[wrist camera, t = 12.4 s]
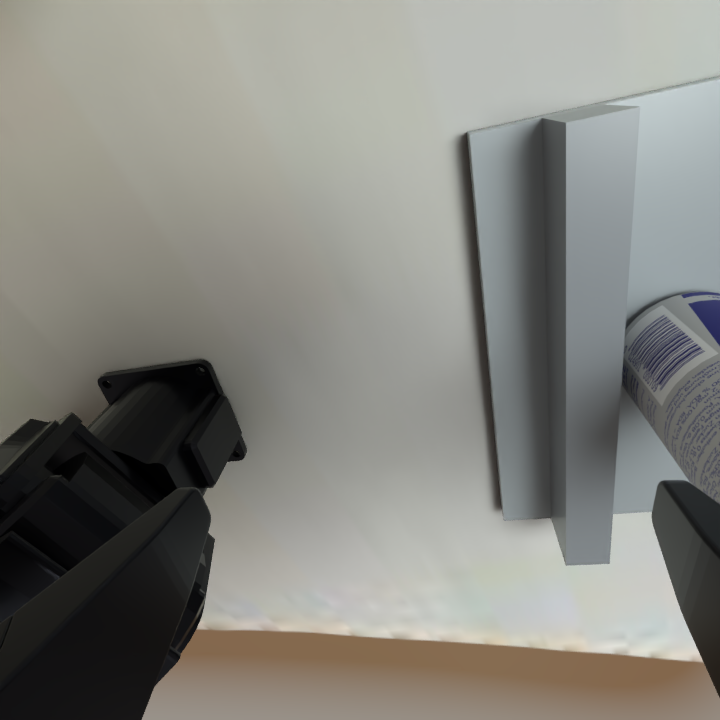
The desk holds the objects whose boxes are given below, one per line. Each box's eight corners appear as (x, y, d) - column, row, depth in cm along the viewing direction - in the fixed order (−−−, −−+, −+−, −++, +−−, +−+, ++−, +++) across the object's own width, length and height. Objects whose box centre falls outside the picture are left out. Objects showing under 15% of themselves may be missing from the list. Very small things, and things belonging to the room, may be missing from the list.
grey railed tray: (501, 506, 27) (513, 567, 24) (466, 131, 18) (479, 141, 14) (822, 485, 24) (891, 552, 20) (989, 16, 14) (1168, -8, 11)
